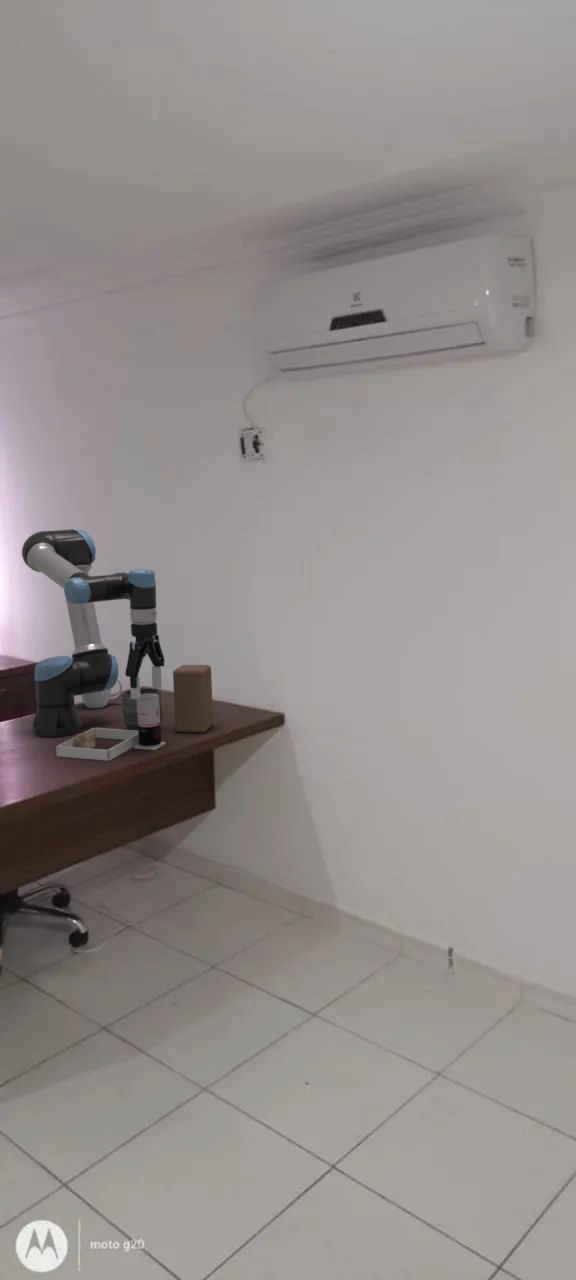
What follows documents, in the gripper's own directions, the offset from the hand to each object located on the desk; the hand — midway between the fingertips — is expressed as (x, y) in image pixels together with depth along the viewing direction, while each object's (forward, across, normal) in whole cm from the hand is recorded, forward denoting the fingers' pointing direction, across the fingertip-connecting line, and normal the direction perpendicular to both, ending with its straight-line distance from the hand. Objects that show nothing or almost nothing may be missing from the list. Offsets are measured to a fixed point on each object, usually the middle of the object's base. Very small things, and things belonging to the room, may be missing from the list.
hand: (146, 693), depth 274 cm
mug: (+18, +40, +40) cm, 60 cm away
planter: (+17, +14, +9) cm, 24 cm away
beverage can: (+16, 0, -1) cm, 16 cm away
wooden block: (+16, +20, -6) cm, 27 cm away
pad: (+16, 0, -1) cm, 16 cm away
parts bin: (+16, -6, +12) cm, 21 cm away
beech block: (+16, -6, +18) cm, 25 cm away
